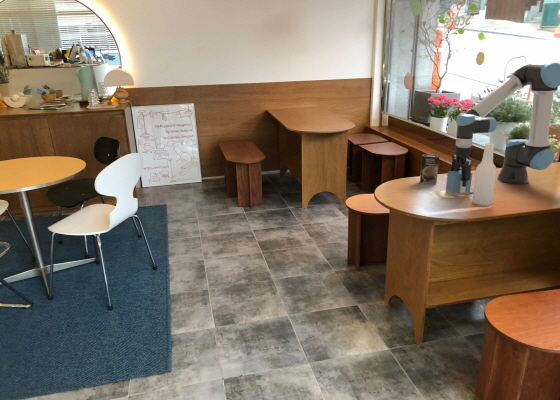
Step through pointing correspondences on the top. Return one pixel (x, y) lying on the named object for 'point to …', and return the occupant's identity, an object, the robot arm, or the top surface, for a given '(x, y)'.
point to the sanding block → (456, 183)
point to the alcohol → (485, 178)
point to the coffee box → (429, 168)
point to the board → (446, 194)
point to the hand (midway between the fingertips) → (458, 190)
